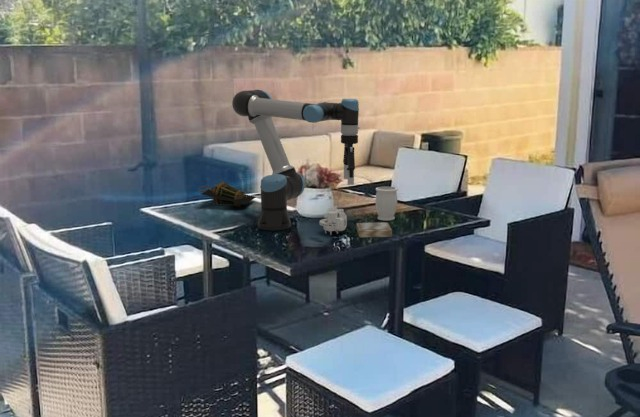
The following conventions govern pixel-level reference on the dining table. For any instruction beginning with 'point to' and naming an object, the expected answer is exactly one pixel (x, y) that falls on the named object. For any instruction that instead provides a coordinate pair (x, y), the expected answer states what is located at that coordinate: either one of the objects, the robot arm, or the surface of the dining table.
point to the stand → (374, 230)
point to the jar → (386, 203)
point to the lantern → (227, 195)
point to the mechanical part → (334, 220)
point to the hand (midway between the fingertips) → (348, 181)
